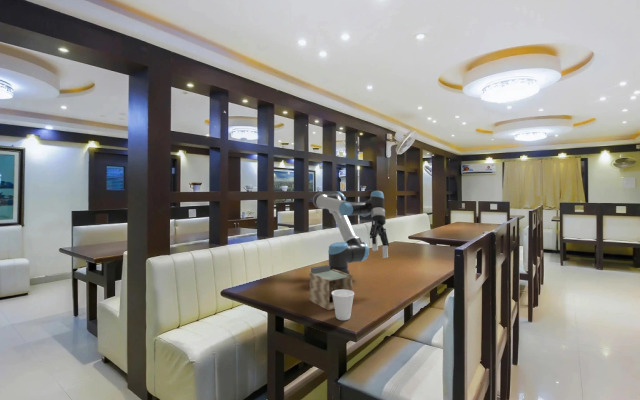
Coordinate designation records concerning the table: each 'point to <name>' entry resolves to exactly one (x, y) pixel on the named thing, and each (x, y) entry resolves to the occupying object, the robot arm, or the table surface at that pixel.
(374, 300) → the table surface
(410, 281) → the table surface
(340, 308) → the cup
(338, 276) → the flap
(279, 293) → the table surface
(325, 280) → the stand
